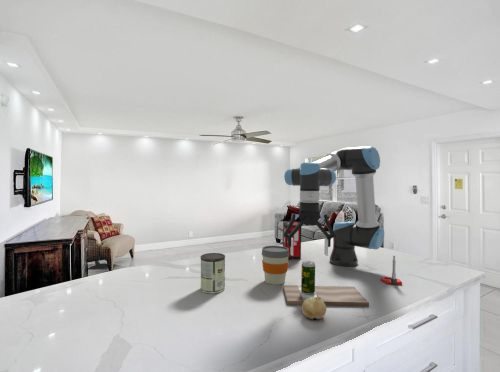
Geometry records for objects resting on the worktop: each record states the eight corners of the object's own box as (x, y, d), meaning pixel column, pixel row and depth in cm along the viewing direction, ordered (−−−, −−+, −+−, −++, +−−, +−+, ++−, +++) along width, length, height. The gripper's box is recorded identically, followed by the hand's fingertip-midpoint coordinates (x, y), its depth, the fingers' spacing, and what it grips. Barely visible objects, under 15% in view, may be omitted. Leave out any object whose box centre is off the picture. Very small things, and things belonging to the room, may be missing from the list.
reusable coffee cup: (292, 279, 136) (292, 247, 135) (283, 288, 124) (284, 253, 124) (267, 275, 141) (267, 244, 141) (256, 283, 130) (257, 249, 129)
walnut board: (283, 288, 123) (283, 284, 123) (354, 290, 123) (354, 286, 123) (287, 304, 108) (287, 300, 107) (368, 306, 107) (369, 301, 107)
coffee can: (207, 283, 129) (207, 251, 128) (228, 286, 125) (229, 254, 125) (195, 291, 119) (195, 257, 119) (218, 295, 116) (218, 260, 115)
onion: (321, 325, 93) (321, 303, 93) (298, 318, 97) (298, 297, 97) (328, 315, 100) (329, 294, 99) (306, 309, 104) (307, 290, 104)
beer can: (305, 289, 119) (305, 259, 119) (317, 292, 116) (317, 262, 115) (298, 292, 115) (299, 262, 115) (310, 296, 111) (311, 265, 111)
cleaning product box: (282, 252, 187) (283, 221, 186) (296, 252, 186) (297, 221, 186) (285, 259, 170) (286, 225, 170) (300, 259, 170) (301, 225, 170)
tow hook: (378, 278, 140) (384, 284, 130) (378, 251, 140) (384, 255, 131) (397, 279, 138) (404, 285, 129) (397, 252, 139) (404, 256, 130)
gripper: (278, 202, 111) (278, 257, 112) (344, 202, 111) (343, 257, 111) (277, 200, 119) (276, 252, 119) (338, 200, 118) (337, 252, 119)
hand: (309, 254), depth 115 cm, fingers open, 13 cm apart
